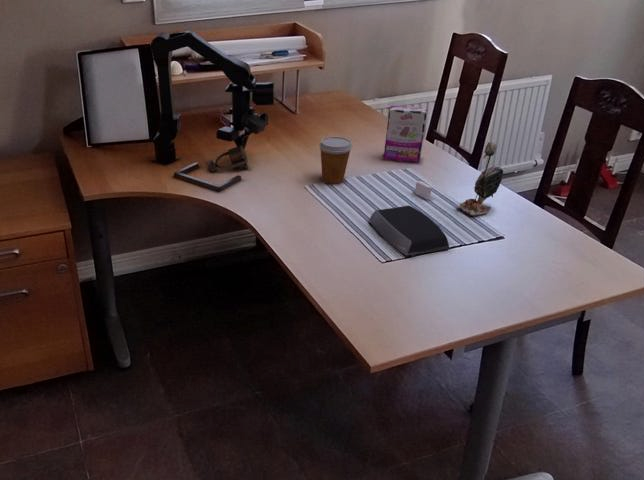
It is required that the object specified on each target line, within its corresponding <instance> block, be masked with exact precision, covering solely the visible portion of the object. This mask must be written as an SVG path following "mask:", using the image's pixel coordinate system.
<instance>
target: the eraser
mask: <svg viewBox="0 0 644 480" xmlns="http://www.w3.org/2000/svg"><path fill="white" fill-rule="evenodd" d="M432 190H433V186H431V185H429V184H427V183H425V182H423V181H421V180H418V181H416V183H415V189H414V194H415V195H417V196H419V197H421V198H422V199H424V200H426V201H428V200H430V199H431V194H432Z"/></svg>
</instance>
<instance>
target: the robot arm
mask: <svg viewBox="0 0 644 480" xmlns="http://www.w3.org/2000/svg"><path fill="white" fill-rule="evenodd" d="M184 48H189V50H192V51H193V52H195V53H196V54H197V55H199V56H201V57H202V58H203V59H205V60H206V61H208V62H210V63H211V64H212V65H214V66H215V67H217V68H218V69H220V71H221V72H222V73H223V74H224V75H225V76H226V78H227V79H228V80H230V83H229V84H228V85H227V86H226V87H225V90H224V92H225V93H231V108H229V109H228V113H231V120H230V121H229V126H232V127H229V126H223V127H221V128H219V129H218V130H216V131H215V132H216V135H215V136H216V139H217V140H222V141H226V142H230V143H231V142H234V144H235V145H236V147H238V146H240V145H241V146H242V147H243V148H244V150H245V149H246V146H247V143H248V139H249V138H250V136H251V135H252V134H254V135H259V134H260V133H262V132H264V131H265V128H266V126H268V125H269V124H270V123H269V114H268V113H267V112H263V113H261V114H258V113H255V109H254V107H252V106H251V102H252V103H253V104H254V105H255V106H275V82H274V81H269V82H258V81H257V79H256V78H255V76H254V75H253V74H252V69H251V66H250V65H249V64H248V63H247V62H245V61H243V60H241V59H238V58H236V57H233V56H230V55H228V54H226V53H225V52H223V51H222V50H220V49H218V48H217V47H216V46H214V45H213V44H211V43H210V42H208V41H207V40H206V39H204V38H203V37H201V36H199V35H198V33H196V32H195V31H194V30H191V29H188V30H186V31H179V32H172V33H168V32H164V31H163V32H159V33H158V34H157V35H156V36H155V37H154V38H153V39H152V40H151V41H150V51H151V52H150V53H151V56H152V59H153V62H154V63H155V65H156V71H157V81H158V91H159V100H160V103H159V104H160V119H159V125H158V131H157V132H156V134H155V136H154V137H153V140H152V143H153V146H154V158H152V159H151V162H155V163H158V164H162V165H165V166H166V165H169V164H171V163H173V162H176V161H179V159H180V158H179V157H178V156H177V153H176V145H175V142H174V140H175V139H176V138H177V136H178V133H179V132H180V129H181V128H182V125H183V124H182V121H181V117H182V116H181V115H182V114H181V113H177V112H176V109H175V104H174V103H175V102H174V91H173V90H174V89H173V78H172V67H171V64H172V57H173V52H174V51H178V50H181V49H184Z"/></svg>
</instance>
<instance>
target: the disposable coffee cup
mask: <svg viewBox="0 0 644 480" xmlns="http://www.w3.org/2000/svg"><path fill="white" fill-rule="evenodd" d="M318 148H319V149H320V163H321V179H322V181H323V182H324V183H327V184H332V185H333V184H334V185H335V184H340V183H342V182H344V180H345V175H346V170H347V166H348V161H349V157H350V153H351V150H352V148H353V144H352V141H351V140H350V139H349V138H347V137H344V136H326V137H323V138H322V139H321V140H320V143H319V144H318Z"/></svg>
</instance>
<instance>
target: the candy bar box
mask: <svg viewBox="0 0 644 480" xmlns="http://www.w3.org/2000/svg"><path fill="white" fill-rule="evenodd" d="M428 109H429V108H428V107H421V106H420V107H419V106H405V105H390V108H389V110H388V116H387V125H386V134H385V142H384V148H383V149H384V150H383V160H384V161H394V162H395V161H396V162H403V163H404V162H406V163H413V164H414V163H415V164H418V163H420V160H421V156H422V150H423V143H424V137H425V132H426V131H425V130H426V123H427V117H428Z"/></svg>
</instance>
